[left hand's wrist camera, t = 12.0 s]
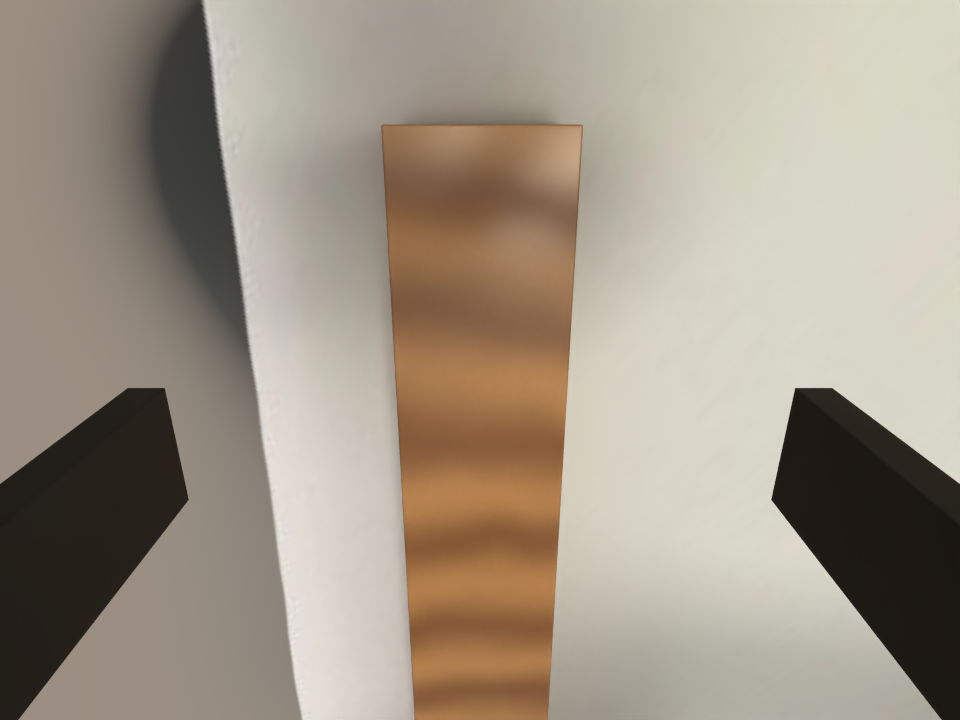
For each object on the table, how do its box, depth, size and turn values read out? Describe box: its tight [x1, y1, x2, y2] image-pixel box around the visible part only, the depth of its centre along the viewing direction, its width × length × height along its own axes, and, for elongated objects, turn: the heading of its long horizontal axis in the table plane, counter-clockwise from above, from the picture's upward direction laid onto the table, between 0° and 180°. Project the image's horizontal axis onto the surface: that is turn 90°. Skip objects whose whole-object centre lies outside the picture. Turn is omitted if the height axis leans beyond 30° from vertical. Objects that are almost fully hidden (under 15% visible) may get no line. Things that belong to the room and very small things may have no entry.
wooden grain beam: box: [381, 125, 583, 720], centre depth 39 cm, size 55×8×7 cm, turn 0°
